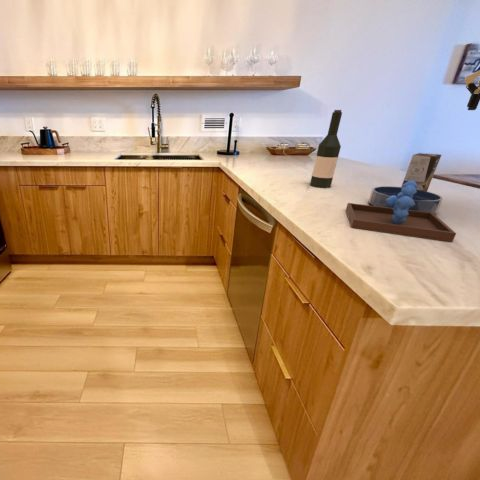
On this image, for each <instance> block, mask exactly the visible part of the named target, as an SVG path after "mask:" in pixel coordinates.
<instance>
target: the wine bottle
mask: <svg viewBox="0 0 480 480" xmlns="http://www.w3.org/2000/svg"><path fill="white" fill-rule="evenodd" d="M342 115H343V112H342V109H334V111H332V114H331V117H330V121H329V126H328V131H327V135H326V136H325V137H324V138H323V139H322V140H321V141H320V143H319V144H318V147H317V150H316V151H317V152H316V155H315V160H314V165H313V169H312V174H311V178H310V181H309V185H310V186H309V187H314V188H319V189H328V188H331V187H332V183H333V180H334V175H335V171H336V168H337V163H338V159H339V156H340V151H341V149H342V146H341V142H340V140H339V138H338V132H339V127H340V125H341V120H342V117H343V116H342Z"/></svg>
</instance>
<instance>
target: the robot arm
mask: <svg viewBox="0 0 480 480" xmlns="http://www.w3.org/2000/svg"><path fill="white" fill-rule="evenodd" d="M476 78H479V79H478V81H477V84H478V85H477V84H476V83H475V82H474V80H475V79H476ZM464 83H465V88H466V89H467V91H469V94H470V97H469V100H468V102H467V105H466V107H467V111H475V110H477V108H478V106H479V103H480V70H478V71H476V72H473V73H471V74H468V75H466V76H465V77H464Z"/></svg>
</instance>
